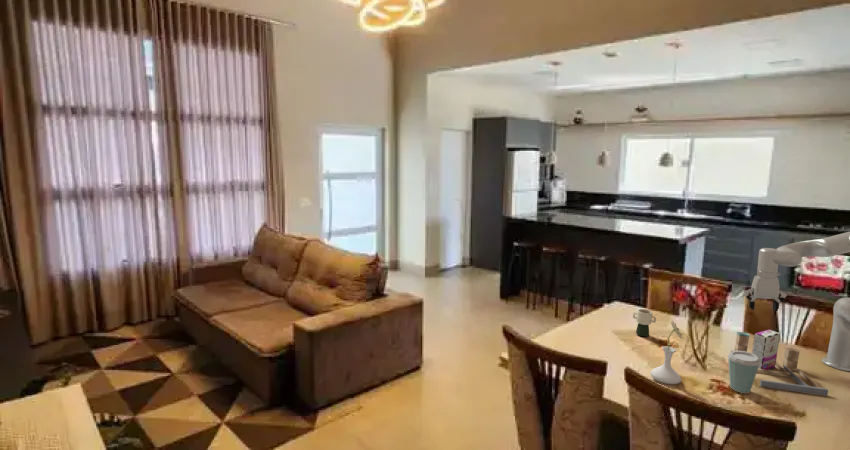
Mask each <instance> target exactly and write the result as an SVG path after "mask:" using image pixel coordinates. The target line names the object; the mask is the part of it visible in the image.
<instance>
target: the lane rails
mask: <svg viewBox="0 0 850 450" xmlns="http://www.w3.org/2000/svg"><path fill="white" fill-rule="evenodd" d="M782 367H783V368H784V369H785V370H786V371H787V372H789V373H790V377H789V378H791V379H792V380H794V382H795V383H797V384H794V383H787V382H780V381H773V380H772V381H771V380H766V379H760V381H759V386H760V387H761V386H762V388H770V389H775V390H781V391H782V390H784V391H788V392H789V391H791V392H797V393H803V394H805V393H806V394H811V395H818V396H824V397H827V396H828V393H829V389H828V388H824V387H821V388H818V387H814V386H812V387H810V386H809V385H808V384H807V383H806V382H805V381H804V380H802V378H800V377H799V376H798V375H797V374H796V373H795V372H794V371H791V370H789V369H788V368H787V367H786V366H783V365H782ZM794 373H795V374H796V375H797V376H798V377H799V378H798V377H797V376H796V375H795V374H794ZM803 381H804V382H805V383H806V384H807V385H808V386H807V385H806V384H805V383H804V382H803Z"/></svg>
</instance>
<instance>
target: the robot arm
mask: <svg viewBox="0 0 850 450" xmlns="http://www.w3.org/2000/svg"><path fill="white" fill-rule="evenodd" d="M847 253H850V231H846V232H843V233H839V234H835V235H832V236H827V237H822V238H817V239H812V240H802V241H798V242H792V243H789V244H786V245H785V244H783V245H782V246H778V247H777V248H771V247H762V248H760V249H759V251H758V260H757V270H756V275H754V277H753V280H752V283H751V288H749V289H746V290H744V291H743V294H744V296H745V298H746V299H747V300H748V307H749V310H752V311H754V310H755V305H756V303H755V300H756V299H765V300H766V299H767V300H768V299H769V300H773V303H772V310H774V312H779V311H778V310H779V309H780V304H781V303H782V302H783V301H784V300H785V299H786V297H787V296H788V294H787V293H785V292H784V291H782V290H780V282H779V278H778V276H781V272H779V271H778V269H779V265H780V266H785V267H792V268H793V267H797V266H799V265H800V264H801V263H802V261H803V258H806V257H818V258H830V257H834V256H840V255H843V254H847ZM750 295H751V296H750ZM832 320H833V321H832V327H831V333H830V338H829V344H828V350H827V353H826V354H827V355H826V356H824V357H821V362H822V363H823V364H825V365H826V366H828V367H830V368H834V369H836V370H840V371H844V372H845V371H846V372H850V297H842V298H839V299H838V300H837V301H835V303H834V305H833V319H832Z"/></svg>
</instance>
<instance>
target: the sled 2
mask: <svg viewBox="0 0 850 450" xmlns="http://www.w3.org/2000/svg"><path fill="white" fill-rule="evenodd" d="M799 357H800V350H798V349H797V348H792V347H785V350H784V356H783V363H782V367H783V366H786V367H787V368H788V369H789V370H791V371H792V372H793V373H794V374H795V375H796V376H797V377H798V378H800V377H799V376H798V375H797V374H799V375H800V376H801V377H802V378H804V379H805V380H806V381H807V382H808V383H809V384H810V385H812V386H810V387H818V388H822V387H821V386H819V384H817V383H816V382H815V381H814V380H812V378H811V377H810V376H808V375H807V374H806V373H805V372H803V371H802V370H801V369H798V364H799ZM796 373H797V374H796ZM802 381H803V382H804V383H805V384H806V385H807V386H809V385H808V384H807V383H806V382H805V381H804V380H802Z"/></svg>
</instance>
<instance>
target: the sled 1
mask: <svg viewBox="0 0 850 450" xmlns="http://www.w3.org/2000/svg"><path fill="white" fill-rule="evenodd" d="M735 338H736V339H735V345H734V351H746V352H748V348H749V347H748V346H749V342H750V334H749V333H748V332H742V331H736V337H735ZM732 351H733V350H730V353H731V352H732ZM775 367H777V369H779V371H778V370H773V369H769V370H766V369H758V370H757V373H756V374H763V375H764V374H765V375H773V376H780V377H781V376H782V377H788V378H791V377H790V373H789V372H787V371H786V370H785V369H784V368H783V365H781V364H779V363H778V362H777V361H776V364H775Z"/></svg>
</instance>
